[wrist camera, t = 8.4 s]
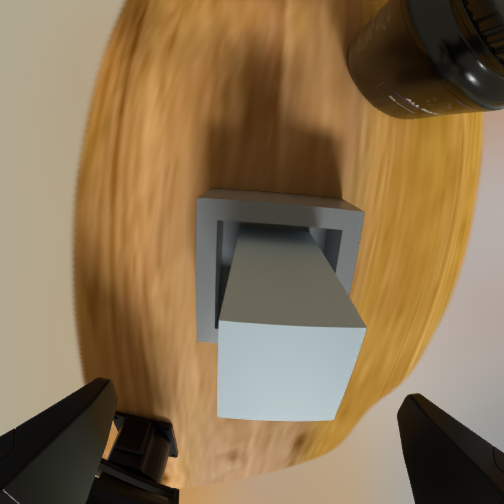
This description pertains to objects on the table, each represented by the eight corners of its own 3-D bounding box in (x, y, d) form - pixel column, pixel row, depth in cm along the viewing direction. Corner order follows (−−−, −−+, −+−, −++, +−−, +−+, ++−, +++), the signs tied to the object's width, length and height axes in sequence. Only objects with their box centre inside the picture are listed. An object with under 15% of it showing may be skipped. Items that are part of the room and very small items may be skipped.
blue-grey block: (300, 294, 18) (333, 420, 9) (236, 289, 18) (217, 416, 9) (309, 232, 17) (366, 327, 7) (240, 226, 17) (218, 320, 7)
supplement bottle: (381, 137, 16) (532, 135, 5) (324, 44, 14) (406, -72, 3) (451, 101, 15) (587, 89, 3) (402, 18, 13) (507, -56, 1)
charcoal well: (323, 314, 20) (336, 348, 16) (207, 307, 20) (197, 341, 16) (342, 199, 17) (364, 211, 13) (210, 188, 17) (196, 197, 13)
